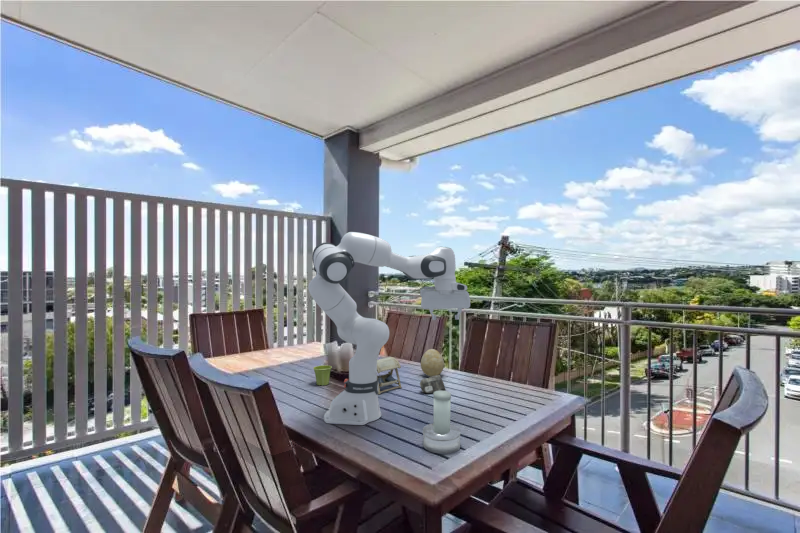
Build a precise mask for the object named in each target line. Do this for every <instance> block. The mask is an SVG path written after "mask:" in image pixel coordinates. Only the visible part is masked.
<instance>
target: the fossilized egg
mask: <svg viewBox="0 0 800 533" xmlns="http://www.w3.org/2000/svg"><path fill="white" fill-rule="evenodd" d="M444 368H445V362H444V358H443V356H442V354H441V352H439V351H438V349H437V350H436V349H434V348H430V349H427V350H426V351H425V352H424V353H423V355H422V357H421V359H420V369H421V371H422V372H423V373H424V374H425V375H426V376H427V377H428V378H429V377H432V376H437V375H441V374H442V372H443V371H444Z"/></svg>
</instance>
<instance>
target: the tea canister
mask: <svg viewBox="0 0 800 533" xmlns="http://www.w3.org/2000/svg"><path fill="white" fill-rule="evenodd" d="M432 394H433V396H432V397H433V416H432V418H433V420H432V422H433V430H434V432H436V433H439V434H446V433H449V432H450V424H451V407H452V406H451V399H452V392H450V391H447V390H444V391H442V390H440V391H435V392H434V393H432Z"/></svg>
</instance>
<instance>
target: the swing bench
mask: <svg viewBox="0 0 800 533" xmlns="http://www.w3.org/2000/svg"><path fill="white" fill-rule="evenodd" d="M399 369H401V364H400V362H399V360H398V359H396V358H395V357H393V356H388V357H384V358H380V359H377V374H378V375H377V379H378V396H379V395H381V393H385V392H389V391H391V390H392V391H393V390H394V389H398V388H399V389H402V384H401V379H400V375H399ZM394 370H395V371H394ZM387 371H388V372H387ZM383 372H387V373H385V374H380V373H383ZM393 372H395V375H396V378H397V379H396V378H394V377H393ZM393 384H394V385H396V386H394V387H391V388H387V389H383V390H381V388H383V387H387V386H391V385H393ZM397 385H398V386H397Z"/></svg>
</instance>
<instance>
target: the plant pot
mask: <svg viewBox="0 0 800 533" xmlns="http://www.w3.org/2000/svg"><path fill="white" fill-rule="evenodd" d="M332 368H333V367H332V365H326V364H325V365H316V366H314V367H313V368H312V369H313V371H314V375H315V382H316V385H317V386H320V385H322V386H321V387H323V385H324V386H327V385H329V383H330V376H331V371H332Z"/></svg>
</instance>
